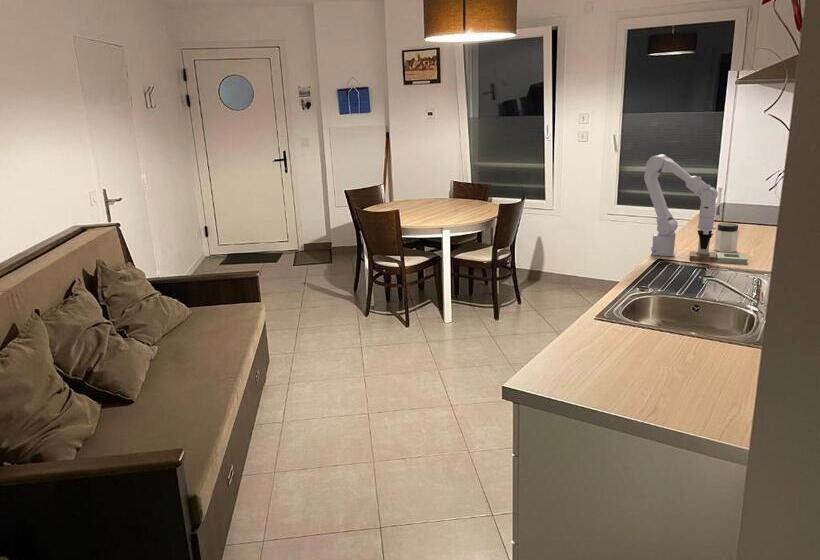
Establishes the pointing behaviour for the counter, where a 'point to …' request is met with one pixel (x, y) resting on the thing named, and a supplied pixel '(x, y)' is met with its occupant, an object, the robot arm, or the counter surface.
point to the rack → (731, 258)
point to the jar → (726, 237)
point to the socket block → (702, 256)
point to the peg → (703, 251)
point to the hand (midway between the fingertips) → (703, 247)
